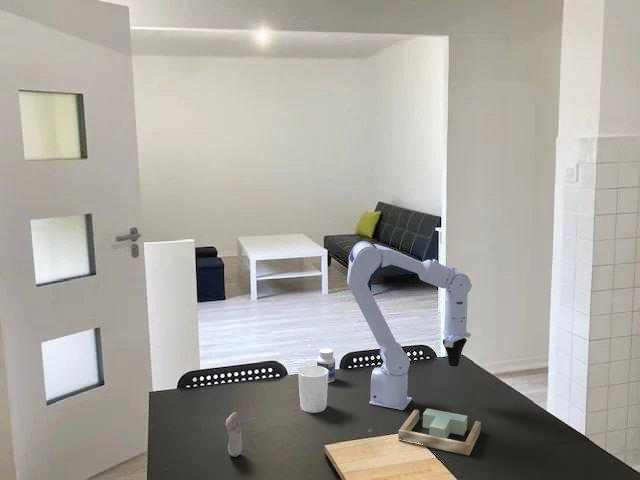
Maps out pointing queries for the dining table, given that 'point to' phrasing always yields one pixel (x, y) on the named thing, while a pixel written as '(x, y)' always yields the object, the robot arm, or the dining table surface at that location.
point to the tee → (444, 423)
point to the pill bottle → (327, 363)
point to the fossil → (234, 434)
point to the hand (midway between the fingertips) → (453, 365)
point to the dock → (435, 441)
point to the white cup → (313, 388)
